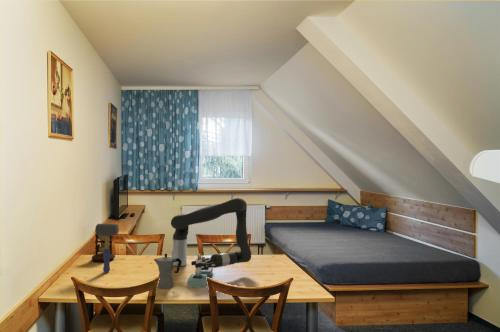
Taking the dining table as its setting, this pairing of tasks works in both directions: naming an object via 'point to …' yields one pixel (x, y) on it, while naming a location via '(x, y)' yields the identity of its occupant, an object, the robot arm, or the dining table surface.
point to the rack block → (197, 281)
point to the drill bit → (198, 270)
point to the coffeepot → (166, 271)
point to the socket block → (206, 271)
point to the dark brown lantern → (102, 248)
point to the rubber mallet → (106, 240)
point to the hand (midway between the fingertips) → (193, 264)
